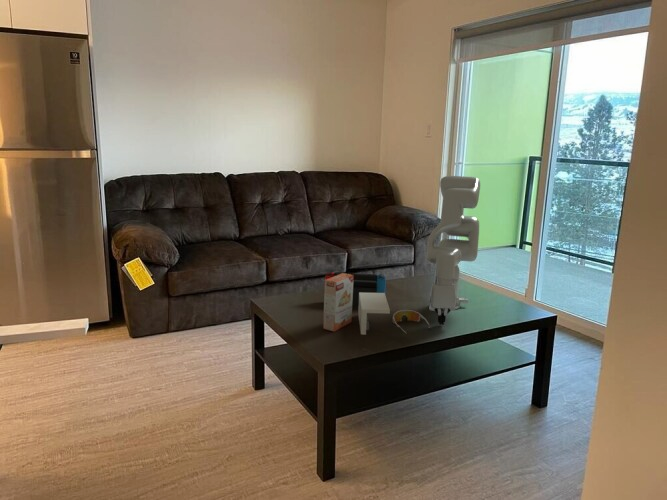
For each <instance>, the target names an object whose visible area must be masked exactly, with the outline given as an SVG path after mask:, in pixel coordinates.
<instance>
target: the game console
mask: <svg viewBox="0 0 667 500" xmlns="http://www.w3.org/2000/svg"><path fill="white" fill-rule="evenodd" d="M342 273H343V272H333V271H329V272H327V273H326V274H325V276H324V277H325V279H324V281H325V280H327V279H329V278H332V277H334V276H337V275H339V274H342ZM344 273H345V274H350V275H354V279H353V300H352V307H359V293H385V294H386V287H387V286H386V283H387V282H386V281H387V277H386V276H385V275H384V274H382V273H381V274H376V273H375V274H374V273H356V272H355V273H352V272H344Z"/></svg>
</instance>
